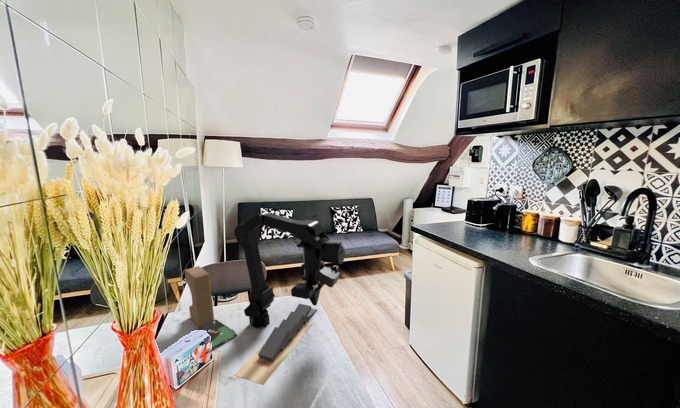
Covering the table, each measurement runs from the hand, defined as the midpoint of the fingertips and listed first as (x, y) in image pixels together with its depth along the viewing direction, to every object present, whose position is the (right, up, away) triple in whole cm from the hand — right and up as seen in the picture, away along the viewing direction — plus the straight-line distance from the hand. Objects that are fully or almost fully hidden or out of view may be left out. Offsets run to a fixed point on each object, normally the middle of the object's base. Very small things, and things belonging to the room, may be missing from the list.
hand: (314, 304), depth 93 cm
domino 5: (-7, -9, +10) cm, 15 cm away
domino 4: (-12, -12, -4) cm, 18 cm away
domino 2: (-9, -10, +6) cm, 14 cm away
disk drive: (-36, -14, +4) cm, 39 cm away
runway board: (-12, -14, -2) cm, 18 cm away
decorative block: (-45, -12, +16) cm, 49 cm away
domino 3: (-10, -11, +1) cm, 15 cm away
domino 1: (-14, -13, -9) cm, 21 cm away
